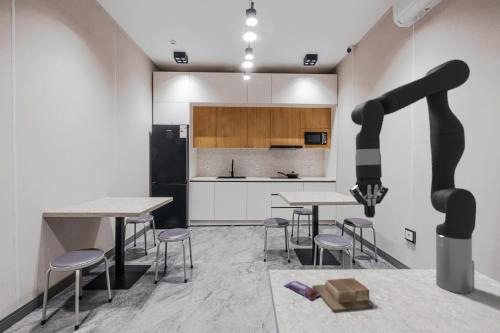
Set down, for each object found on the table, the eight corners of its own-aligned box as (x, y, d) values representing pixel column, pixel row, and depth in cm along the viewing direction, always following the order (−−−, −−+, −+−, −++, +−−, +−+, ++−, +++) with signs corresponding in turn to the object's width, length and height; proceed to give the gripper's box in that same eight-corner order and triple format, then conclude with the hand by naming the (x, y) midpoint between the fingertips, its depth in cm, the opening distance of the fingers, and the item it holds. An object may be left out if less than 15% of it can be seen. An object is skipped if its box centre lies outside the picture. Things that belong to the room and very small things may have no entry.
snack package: (283, 282, 82) (293, 278, 85) (283, 288, 82) (293, 283, 85) (311, 296, 73) (321, 291, 76) (311, 302, 73) (321, 297, 76)
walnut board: (345, 284, 83) (345, 283, 83) (372, 308, 69) (372, 305, 69) (312, 287, 81) (312, 285, 81) (333, 311, 67) (333, 309, 67)
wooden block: (353, 277, 80) (325, 279, 79) (369, 289, 72) (337, 292, 71) (353, 287, 80) (325, 289, 79) (369, 299, 72) (338, 302, 71)
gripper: (378, 163, 84) (379, 214, 84) (343, 164, 82) (344, 216, 81) (395, 163, 76) (396, 218, 76) (356, 163, 74) (358, 220, 74)
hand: (369, 217), depth 79 cm, fingers closed
